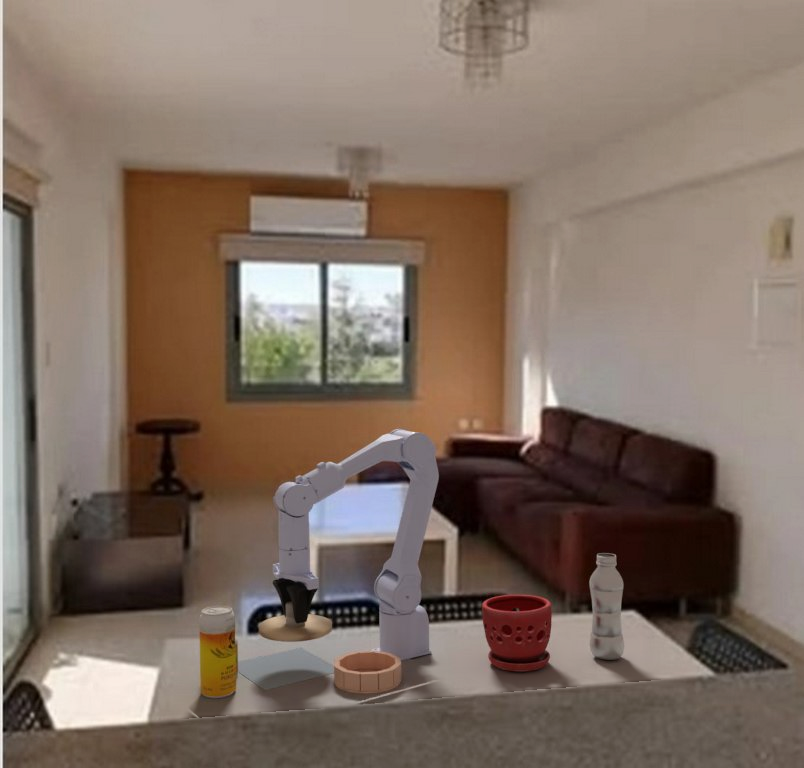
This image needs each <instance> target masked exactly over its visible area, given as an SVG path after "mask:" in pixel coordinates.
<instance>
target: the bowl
mask: <svg viewBox="0 0 804 768" xmlns="http://www.w3.org/2000/svg"><path fill="white" fill-rule="evenodd" d="M333 665H334V673H333V678H334V680H333V681H334V685H335V687H337V688H338V689H340V690H342V691H345V692H348V693H353V694H354V693H355V694H378V693H383V692H386V691H390V690H394V689H395V688H397V687H398V686H399V685H400V684H401V682H402V660H400V658H399V657H398V656H396V655H393V654H391V653H388V652H381V651H371V650H358V651H352V652H349V653H348V652H347V653H345V654H341V655H340V656H339V657H336V658H335V659H334V660H333Z"/></svg>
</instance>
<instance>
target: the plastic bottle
mask: <svg viewBox="0 0 804 768" xmlns="http://www.w3.org/2000/svg"><path fill="white" fill-rule="evenodd" d="M595 563H596V565H597V567H596V568H595V570H594V571H593V572H592V574H591V575H590V576H589V577H590V578H589V583H588V584H589V590H590V597H591V605H592V606H591V607H592V608H591V609H592V611H591V612H592V619H591V620H592V621H591V632H590V637H589V648H590V652H591V654H592V655H593V657H595V658H597V659H601V660H606V661H607V660H609V661H613V660H614V661H615V660H618V659H620V658H621V657H622V656H623V655H624V652H625V651H624V650H625V641H624V636H623V630H622V619H621V616H622V614H621V613H622V612H621V611H622V599H623V592H624V580H623V578H622V576H621V574H620V572H619V571H618V569H617V568H616V566H618V565H617V555H616V554H614V553H609V552H607V553H606V552H601V553H600V552H599V553H597V554H596V561H595Z"/></svg>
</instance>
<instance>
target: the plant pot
mask: <svg viewBox="0 0 804 768" xmlns="http://www.w3.org/2000/svg"><path fill="white" fill-rule="evenodd" d="M481 605H482V606H481V611H482V612H481V613H482V625H483V629H484V636H485V638H486V642H487V644H488V645H487V646H488V647H489V649H490V651H489V652H488V654H487V655H488V657H487V658H488V659H489V662H490V663H491V664H492V665H494V666H495V667H497V668H498V669H501V670H502V671H511V672H529V671H531V672H532V671H535V670H539V669H542V668H543V667H544V666H546V665H547V664H548V662H549V660H550V659H551V654H550V652H549V651H548V650H546V649H547V647H548V644H549V641H550V638H551V633H552V632H551V631H552V616H553V615H552V604H551V602H550V601H549V600H548V599H546V598H544V597H542V596H537V595H533V594H532V595H531V594H505V595H498V596H494V597H490V598H488V599H485V600H484V601H483V602H482V604H481ZM514 609H517V610H518V611H516V610H515V611H513V610H514Z"/></svg>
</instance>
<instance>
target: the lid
mask: <svg viewBox="0 0 804 768" xmlns="http://www.w3.org/2000/svg"><path fill="white" fill-rule="evenodd" d="M332 631H333V622H332V621H331V619H330V618H328V617H325V616H323V615H319V614H318V615H317V614H310V613H309V614H308V618H307V622H303V623H296V622H295V619H294V612H293V605H292V601H290V602H287V603H286V617H285V615H284V614H282V615H277V616H273V617H269V618H267V619H265V620H263V621H261V622H260V623H259V625H258V634H259V635H260V636H261V637H262V638H264V639H267V640H270V641H276V642H285V643H286V642H287V643H294V642H307V641H313V640H316V639H320V638H323V637H325V636H327V635H329V634H330V633H331V632H332Z"/></svg>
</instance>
